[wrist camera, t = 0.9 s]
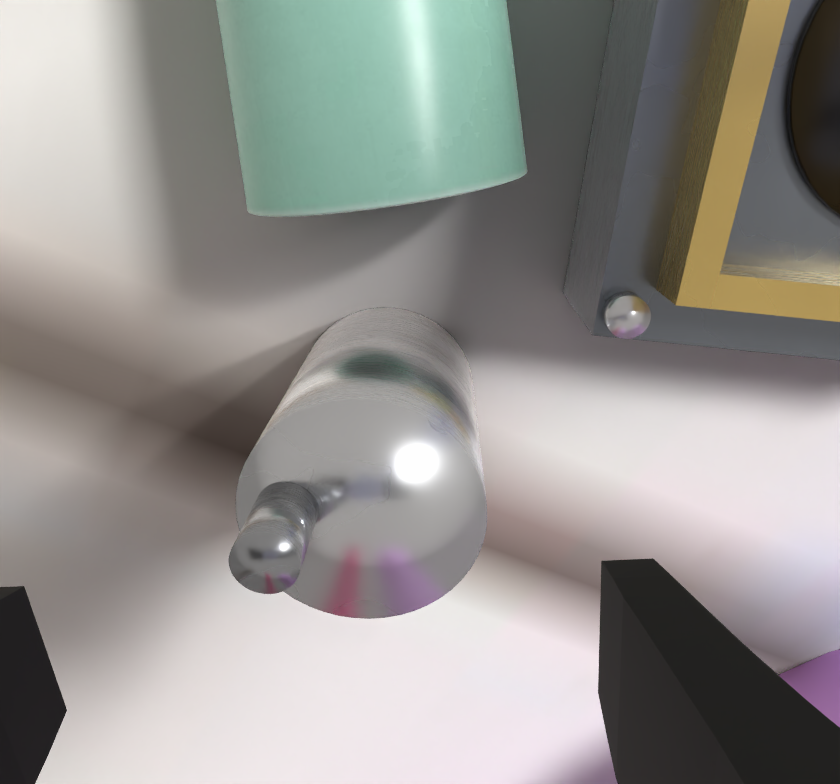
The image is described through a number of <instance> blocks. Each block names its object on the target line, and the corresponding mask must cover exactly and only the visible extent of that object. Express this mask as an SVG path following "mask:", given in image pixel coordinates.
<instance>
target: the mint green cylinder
mask: <svg viewBox="0 0 840 784" xmlns="http://www.w3.org/2000/svg"><path fill="white" fill-rule="evenodd" d="M216 6H217V12H218V19H219V25H220V32H221V39H222V45H223V52H224V58H225V65H226V72H227V78H228V85H229V92H230V98H231V105H232V111H233V118H234V125H235V131H236V138H237V144H238V151H239V158H240V164H241V171H242V177H243V184H244V191H245V197H246V204H247V211H248V212H249V213H250V214H252V215H257V216H268V217H294V216H312V215H326V214H336V213H346V212H355V211H363V210H372V209H379V208H386V207H393V206H400V205H407V204H413V203H419V202H425V201H431V200H436V199H442V198H447V197H452V196H457V195H462V194H467V193H471V192H475V191H479V190H484V189H487V188H491V187H495V186H498V185H502V184H505V183H508V182H511V181H514V180H517V179H519V178H521V177H523V176H524V175H525V174H526V173H527V172H528V171H527V163H526V155H525V147H524V139H523V131H522V123H521V115H520V107H519V99H518V91H517V82H516V74H515V66H514V58H513V50H512V42H511V34H510V26H509V18H508V9H507V1H506V0H216Z"/></svg>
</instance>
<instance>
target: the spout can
mask: <svg viewBox="0 0 840 784" xmlns="http://www.w3.org/2000/svg"><path fill="white" fill-rule="evenodd" d="M236 515H237V522H238V526H239V530H240V533H239V535H238V537H237V539H236V541H235V543H234V545H233V547H232V549H231V551H230V555H229V566H230V570H231V572H232V574H233V576H234V577H235V579H236V580H237V581H238V582H239V583H240V584H242V585H243V586H244V587H246V588H248V589H250V590H252V591H254V592H258V593H263V594H274V593H279V592H282V591H284V592H285V593H287V594H288V595H290V596H291V597H293V598H294V599H296V600H298V601H300V602H302V603H304V604H306V605H308V606H310V607H313V608H315V609H318V610H321V611H323V612H327V613H331V614H335V615H338V616H345V617H351V618H368V619H370V618H385V617H391V616H397V615H401V614H405V613H408V612H412V611H415V610H417V609H419V608H422V607H424V606H427V605H429V604H430V603H432V602H434V601H436V600H437V599H439V598H441V597H442V596H443V595H445V594H446V593H448V592H449V591H450V590H452V589H453V588H454V587H455V586H456V585H457V584H458V583H459V582H460V581H461V580H462V579H463V578H464V576H465V575H466V574H467V572H468V571H469V570H470V569H471V567H472V565H473V564H474V562H475V560H476V558H477V557H478V554H479V552H480V549H481V547H482V544H483V541H484V537H485V532H486V526H487V504H486V494H485V485H484V476H483V467H482V458H481V449H480V440H479V431H478V422H477V413H476V404H475V395H474V387H473V378H472V374H471V369H470V366H469V364H468V361H467V358H466V356H465V354H464V353H463V351H462V349H461V347H460V346H459V345H458V343H457V342H456V341H455V339H454V338H453V337H452V336H451V335H450V334H449V333H448V332H447V331H446V330H445V329H443V328H442V327H441V326H440V325H438V324H437V323H435V322H434V321H432V320H430V319H429V318H427V317H425V316H422V315H420V314H418V313H415V312H411V311H408V310H404V309H398V308H372V309H367V310H362V311H359V312H356V313H353V314H351V315H348V316H346V317H344V318H342V319H341V320H339V321H337V322H336V323H335V324H333V325H332V326H330V327H329V328H328V329H327V330H326V331H325V332H324V333H323V334H322V335H321V336H320V337H319V339H318V340H317V341H316V342H315V344H314V346H313V347H312V349H311V351H310V352H309V354H308V356H307V358H306V359H305V361H304V363H303V364H302V366H301V368H300V370H299V371H298V373H297V375H296V376H295V378H294V380H293V381H292V383H291V385H290V387H289V388H288V390H287V392H286V393H285V395H284V397H283V399H282V400H281V402H280V404H279V405H278V407H277V409H276V411H275V412H274V414H273V416H272V417H271V419H270V421H269V422H268V424H267V426H266V428H265V429H264V431H263V433H262V434H261V436H260V438H259V440H258V441H257V443H256V445H255V446H254V448H253V450H252V451H251V453H250V455H249V457H248V458H247V460H246V462H245V464H244V467H243V469H242V472H241V474H240V477H239V482H238V486H237V491H236Z"/></svg>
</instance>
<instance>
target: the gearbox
mask: <svg viewBox="0 0 840 784" xmlns="http://www.w3.org/2000/svg"><path fill="white" fill-rule="evenodd" d="M563 294H564V295H565V297H566V298H567V299H568V301H569V302H570V304H571V305H572V307H573V308H574V309H575V311H576V312H577V314H578V315H579V317H580V318H581V320H582V321H583V322H584V324H585V325H586V327H587V328H588V330H589V331H590V332H591V334H592V335H596V336H606V337H616V338H622V339H636V340H646V341H656V342H665V343H675V344H685V345H695V346H705V347H715V348H725V349H735V350H744V351H754V352H764V353H774V354H784V355H794V356H804V357H814V358H823V359H833V360H840V0H614V5H613V11H612V16H611V22H610V28H609V33H608V39H607V45H606V50H605V56H604V62H603V68H602V73H601V79H600V85H599V90H598V96H597V102H596V107H595V113H594V119H593V125H592V130H591V136H590V142H589V147H588V153H587V159H586V164H585V170H584V176H583V181H582V187H581V193H580V199H579V204H578V210H577V216H576V221H575V227H574V233H573V238H572V244H571V250H570V256H569V261H568V267H567V273H566V278H565V284H564V290H563Z"/></svg>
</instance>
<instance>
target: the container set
mask: <svg viewBox="0 0 840 784" xmlns="http://www.w3.org/2000/svg"><path fill="white" fill-rule="evenodd" d="M779 676H780V677H781V678H782V679H783V680H785V681H786V682H787V683H788V684H789V685H790V686H791V687H792V688H794V689H795V690H796V691H797V692H798V693H799V694H800V695H802V696H803V697H804V698H805V699H806V700H807V701H808V702H810V703H811V704H812V705H813V706H814V707H816V708H817V709H818V710H819V711H820V712H821V713H823V714H824V715H825V716H826V717H827V718H829V719H830V720H831V721H832V722H834V723H835V724H836V725H837V726H839V727H840V649H839V650H835V651H832V652H828V653H826V654H824V655H822V656H819V657H817V658H815V659H813V660H810V661H808V662H806V663H804V664H802V665H799V666H797V667H795V668H793V669H790V670H788V671H786V672H784V673H781V674H780V675H779Z"/></svg>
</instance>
